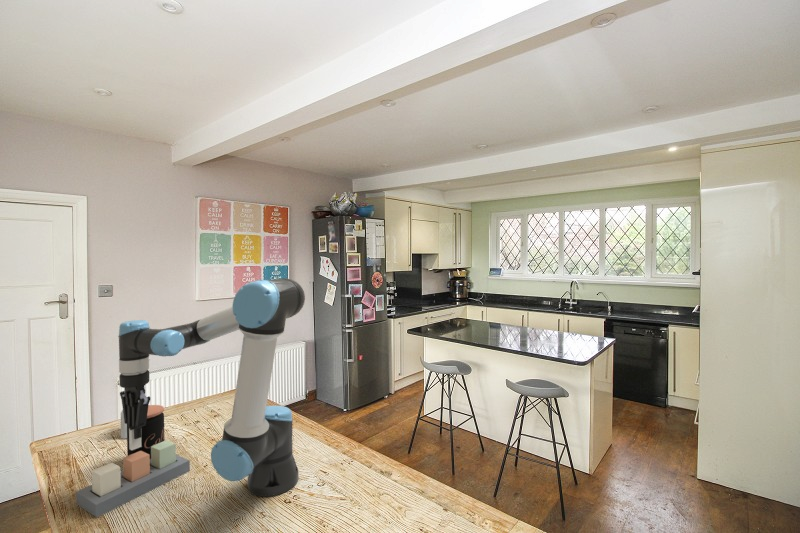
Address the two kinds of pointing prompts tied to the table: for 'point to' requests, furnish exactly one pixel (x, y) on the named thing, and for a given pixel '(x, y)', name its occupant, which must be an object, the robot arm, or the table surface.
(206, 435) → the table surface
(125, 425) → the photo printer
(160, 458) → the sage button
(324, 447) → the table surface
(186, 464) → the slate panel
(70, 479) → the table surface
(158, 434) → the coffee jar
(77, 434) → the table surface
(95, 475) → the cream button
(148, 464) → the terracotta button
